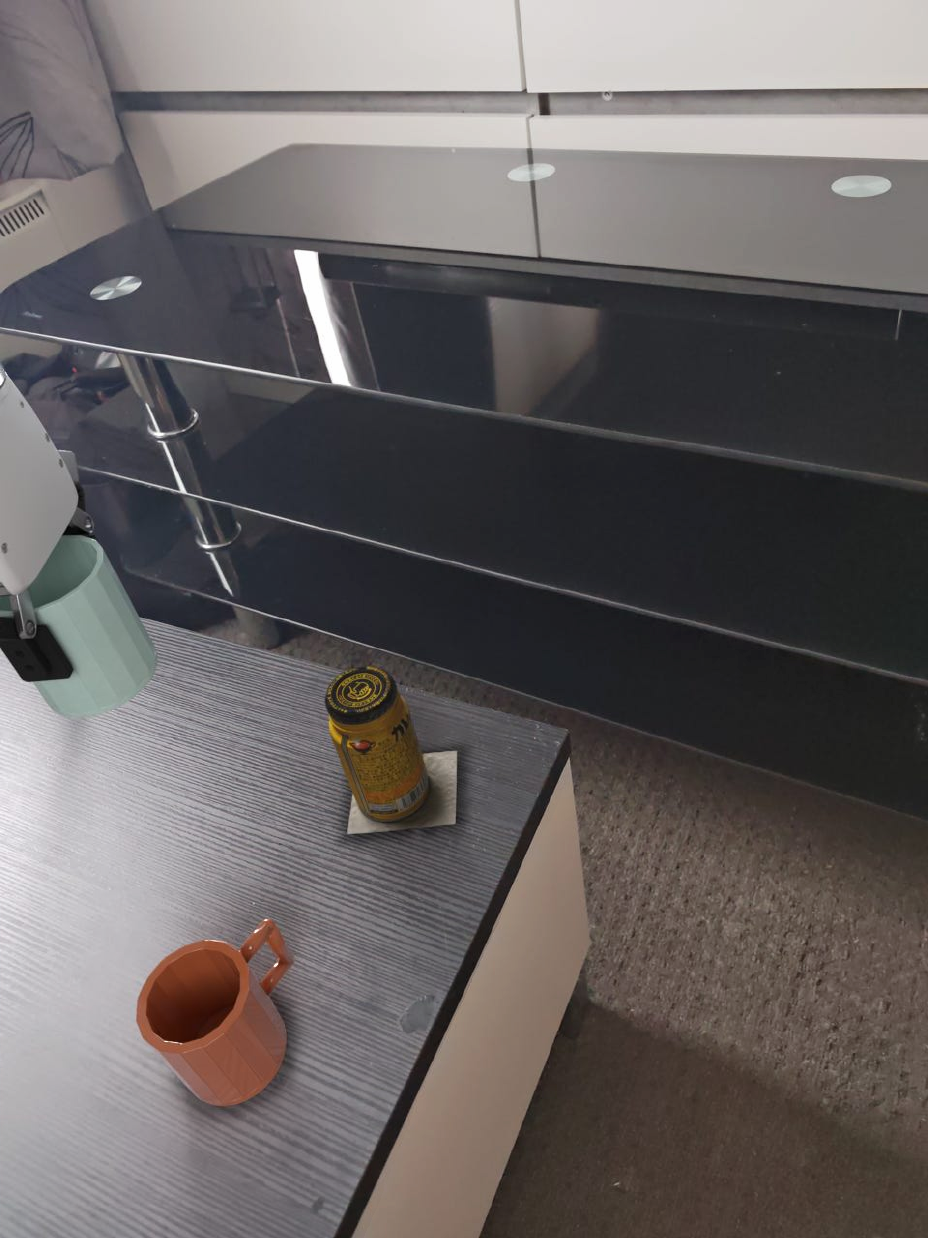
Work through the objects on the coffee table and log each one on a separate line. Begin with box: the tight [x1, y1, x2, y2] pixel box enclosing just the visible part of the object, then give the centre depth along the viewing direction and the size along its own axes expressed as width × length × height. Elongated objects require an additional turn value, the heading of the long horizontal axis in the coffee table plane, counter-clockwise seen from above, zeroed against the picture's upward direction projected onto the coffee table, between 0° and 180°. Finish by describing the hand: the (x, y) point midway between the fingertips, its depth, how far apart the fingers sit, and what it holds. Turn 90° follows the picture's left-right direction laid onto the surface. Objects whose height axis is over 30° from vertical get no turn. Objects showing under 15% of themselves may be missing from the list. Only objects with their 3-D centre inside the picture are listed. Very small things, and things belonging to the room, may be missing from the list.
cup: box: [0, 535, 159, 719], centre depth 59 cm, size 8×8×9 cm
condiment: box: [324, 665, 458, 835], centre depth 69 cm, size 7×8×12 cm
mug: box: [135, 917, 295, 1107], centre depth 58 cm, size 10×7×8 cm
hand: (73, 628), depth 59 cm, fingers closed on cup, 7 cm apart
